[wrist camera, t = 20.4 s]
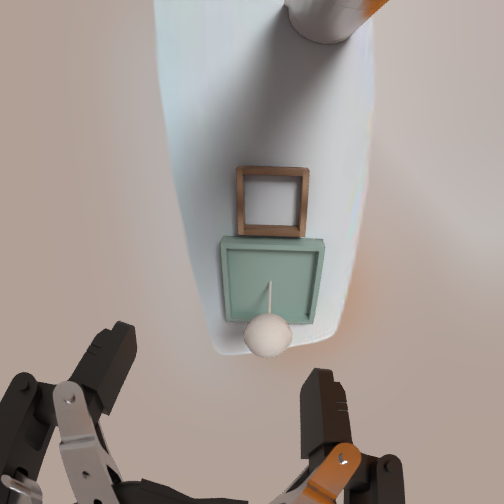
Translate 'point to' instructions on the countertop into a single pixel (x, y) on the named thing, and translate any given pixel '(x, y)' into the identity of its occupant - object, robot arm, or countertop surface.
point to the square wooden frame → (272, 229)
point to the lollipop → (268, 333)
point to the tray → (271, 277)
